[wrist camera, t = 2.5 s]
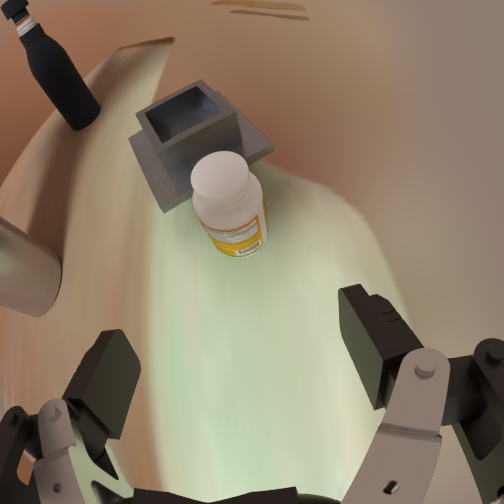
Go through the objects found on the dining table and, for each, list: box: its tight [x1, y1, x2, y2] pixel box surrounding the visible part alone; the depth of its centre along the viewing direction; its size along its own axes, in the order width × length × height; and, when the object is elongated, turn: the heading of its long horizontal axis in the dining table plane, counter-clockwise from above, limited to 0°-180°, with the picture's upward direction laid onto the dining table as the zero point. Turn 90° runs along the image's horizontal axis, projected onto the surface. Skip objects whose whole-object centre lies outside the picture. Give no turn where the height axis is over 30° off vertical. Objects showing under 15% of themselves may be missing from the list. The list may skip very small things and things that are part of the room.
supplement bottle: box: [191, 151, 268, 259], centre depth 22 cm, size 5×5×10 cm
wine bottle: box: [1, 0, 100, 131], centre depth 25 cm, size 6×6×30 cm
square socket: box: [128, 80, 274, 213], centre depth 30 cm, size 14×14×6 cm
